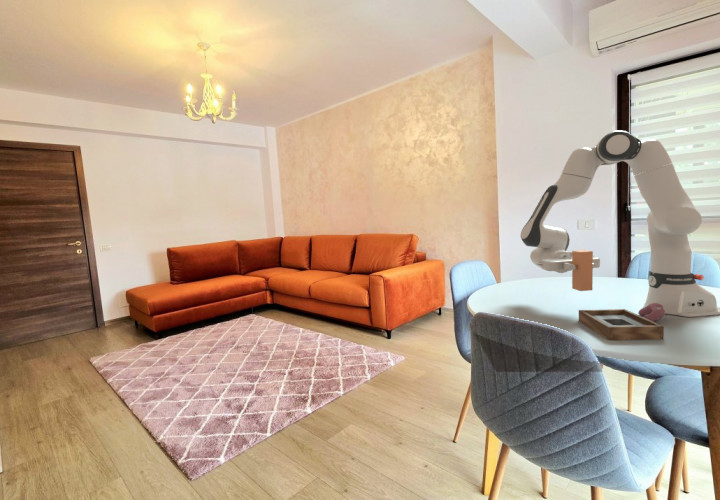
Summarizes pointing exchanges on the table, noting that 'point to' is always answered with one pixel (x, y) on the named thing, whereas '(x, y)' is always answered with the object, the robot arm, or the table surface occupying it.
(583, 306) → the table surface
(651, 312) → the video game controller
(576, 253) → the peg
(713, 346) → the table surface
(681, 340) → the table surface
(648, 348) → the table surface
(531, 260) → the robot arm
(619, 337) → the box
